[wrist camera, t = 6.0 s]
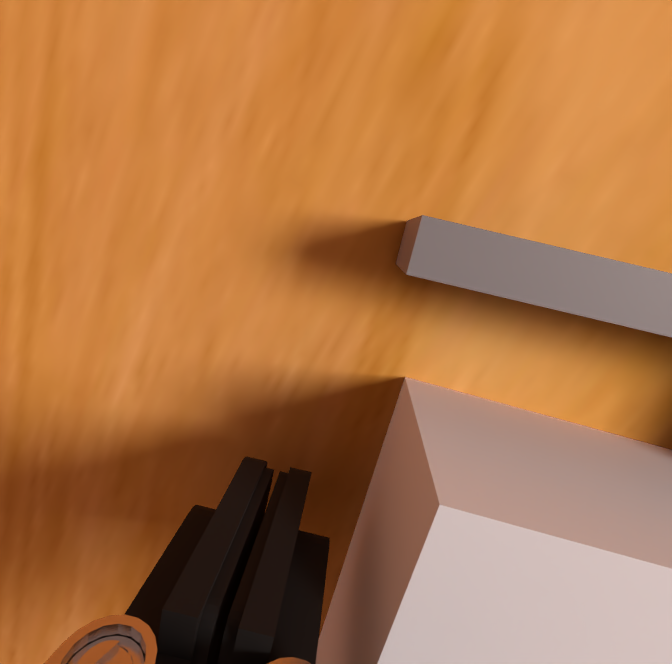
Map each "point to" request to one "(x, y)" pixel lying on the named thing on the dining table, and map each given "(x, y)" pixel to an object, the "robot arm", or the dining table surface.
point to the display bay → (537, 274)
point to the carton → (505, 542)
